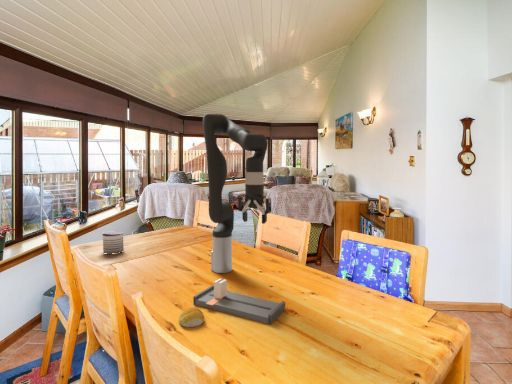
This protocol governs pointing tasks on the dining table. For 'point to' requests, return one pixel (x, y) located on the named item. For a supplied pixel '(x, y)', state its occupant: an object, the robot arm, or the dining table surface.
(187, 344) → the dining table surface
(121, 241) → the can
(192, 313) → the bread roll
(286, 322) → the dining table surface
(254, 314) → the fader board
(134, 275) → the dining table surface
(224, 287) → the fader cap
